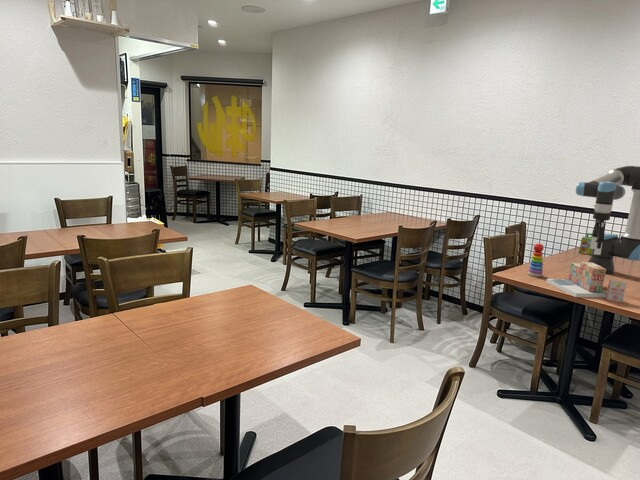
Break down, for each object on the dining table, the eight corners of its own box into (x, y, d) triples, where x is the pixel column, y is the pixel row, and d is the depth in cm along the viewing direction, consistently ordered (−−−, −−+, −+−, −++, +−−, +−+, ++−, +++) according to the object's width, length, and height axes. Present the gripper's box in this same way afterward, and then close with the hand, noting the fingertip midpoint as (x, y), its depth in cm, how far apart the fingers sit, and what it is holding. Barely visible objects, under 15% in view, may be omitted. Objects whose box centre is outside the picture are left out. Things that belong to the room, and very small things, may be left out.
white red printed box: (605, 298, 221) (609, 278, 219) (621, 300, 218) (625, 281, 216) (606, 300, 218) (610, 280, 216) (622, 303, 215) (626, 283, 213)
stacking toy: (541, 274, 258) (546, 243, 254) (543, 278, 251) (548, 245, 247) (526, 272, 261) (531, 241, 257) (528, 276, 253) (533, 244, 249)
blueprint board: (576, 282, 245) (577, 278, 245) (608, 297, 222) (609, 293, 222) (546, 282, 243) (546, 278, 243) (575, 297, 220) (576, 292, 219)
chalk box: (578, 253, 323) (582, 233, 320) (580, 251, 330) (583, 231, 327) (593, 255, 317) (597, 235, 314) (594, 253, 325) (598, 233, 321)
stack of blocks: (568, 278, 244) (571, 257, 241) (579, 279, 244) (583, 258, 241) (588, 291, 223) (593, 267, 220) (601, 292, 223) (606, 268, 220)
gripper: (590, 208, 242) (583, 245, 247) (597, 214, 220) (590, 255, 225) (606, 209, 240) (599, 247, 244) (615, 216, 217) (607, 257, 222)
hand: (595, 251), depth 235 cm, fingers open, 13 cm apart
